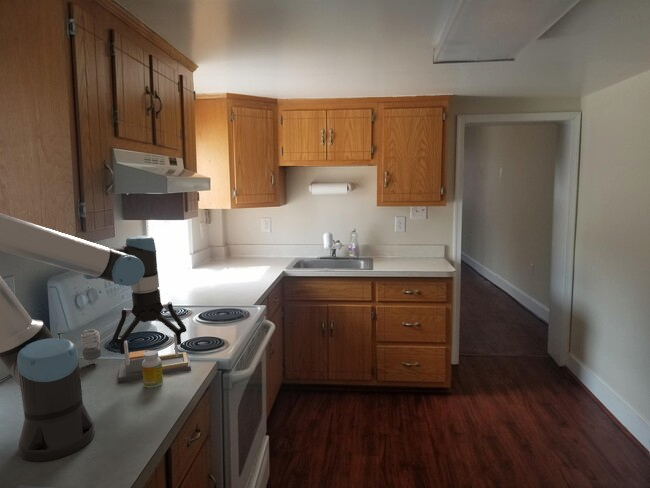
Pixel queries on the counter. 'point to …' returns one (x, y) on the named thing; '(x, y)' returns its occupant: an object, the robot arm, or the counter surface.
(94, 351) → the light bulb
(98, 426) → the counter surface
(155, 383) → the supplement bottle
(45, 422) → the robot arm
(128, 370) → the base
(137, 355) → the switch button
